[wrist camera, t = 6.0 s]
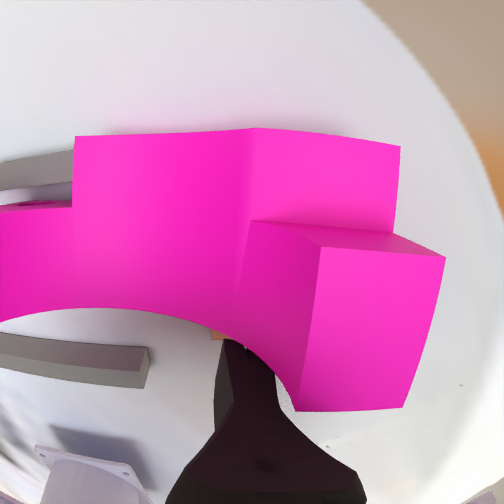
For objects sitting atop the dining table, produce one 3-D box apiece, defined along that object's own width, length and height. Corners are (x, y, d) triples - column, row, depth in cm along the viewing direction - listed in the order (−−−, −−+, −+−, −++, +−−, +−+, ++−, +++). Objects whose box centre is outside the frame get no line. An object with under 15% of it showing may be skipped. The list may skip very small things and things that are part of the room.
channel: (268, 363, 16) (273, 388, 15) (2, 346, 15) (-12, 364, 13) (278, 140, 12) (287, 141, 11) (-41, 173, 11) (-64, 180, 9)
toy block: (357, 156, 12) (457, 134, 5) (340, 299, 14) (402, 407, 6) (41, 150, 13) (-75, 147, 5) (43, 270, 14) (-59, 323, 7)
